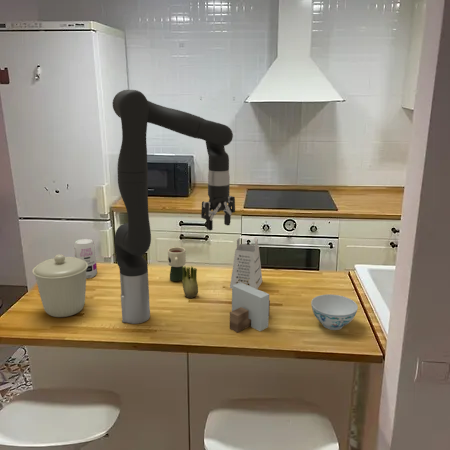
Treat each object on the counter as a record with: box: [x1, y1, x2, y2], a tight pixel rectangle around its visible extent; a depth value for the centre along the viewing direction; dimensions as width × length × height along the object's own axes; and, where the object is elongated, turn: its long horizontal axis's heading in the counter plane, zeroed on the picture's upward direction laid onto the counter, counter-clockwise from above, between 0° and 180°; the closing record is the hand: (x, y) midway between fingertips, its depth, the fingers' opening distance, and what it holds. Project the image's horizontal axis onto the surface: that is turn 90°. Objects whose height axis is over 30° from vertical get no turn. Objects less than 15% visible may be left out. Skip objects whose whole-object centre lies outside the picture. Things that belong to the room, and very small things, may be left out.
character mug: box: [167, 246, 187, 282], centre depth 189 cm, size 11×7×13 cm, turn 3°
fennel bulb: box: [181, 265, 199, 299], centre depth 175 cm, size 6×5×12 cm
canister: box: [31, 253, 88, 318], centre depth 162 cm, size 18×18×21 cm
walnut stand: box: [229, 299, 271, 333], centre depth 157 cm, size 16×4×6 cm, turn 134°
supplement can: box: [73, 238, 98, 279], centre depth 193 cm, size 8×8×15 cm
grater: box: [229, 235, 263, 290], centre depth 184 cm, size 10×10×20 cm
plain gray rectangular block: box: [231, 281, 270, 332], centre depth 156 cm, size 4×13×12 cm, turn 45°
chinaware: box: [310, 293, 359, 331], centre depth 155 cm, size 15×15×8 cm
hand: (218, 227), depth 166 cm, fingers open, 8 cm apart
